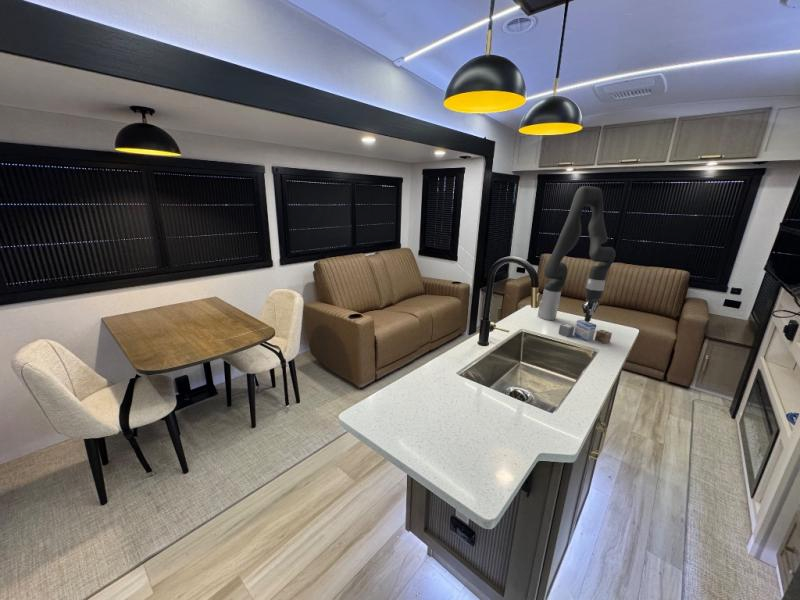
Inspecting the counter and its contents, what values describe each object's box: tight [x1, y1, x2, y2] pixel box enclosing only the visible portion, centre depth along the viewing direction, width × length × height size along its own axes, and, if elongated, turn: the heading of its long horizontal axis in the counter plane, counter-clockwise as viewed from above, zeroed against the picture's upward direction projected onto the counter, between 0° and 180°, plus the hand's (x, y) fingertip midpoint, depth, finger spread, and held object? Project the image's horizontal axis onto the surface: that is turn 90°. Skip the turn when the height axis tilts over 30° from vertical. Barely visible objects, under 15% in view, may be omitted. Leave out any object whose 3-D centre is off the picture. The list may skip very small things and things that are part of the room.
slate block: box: [558, 323, 576, 338], centre depth 166 cm, size 5×5×5 cm
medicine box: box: [573, 319, 597, 342], centre depth 162 cm, size 8×4×9 cm, turn 25°
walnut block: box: [594, 329, 613, 345], centre depth 160 cm, size 5×5×5 cm
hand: (587, 321), depth 161 cm, fingers closed
